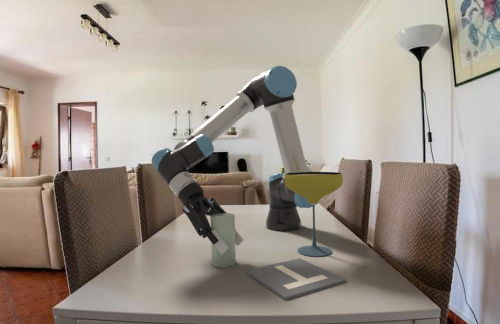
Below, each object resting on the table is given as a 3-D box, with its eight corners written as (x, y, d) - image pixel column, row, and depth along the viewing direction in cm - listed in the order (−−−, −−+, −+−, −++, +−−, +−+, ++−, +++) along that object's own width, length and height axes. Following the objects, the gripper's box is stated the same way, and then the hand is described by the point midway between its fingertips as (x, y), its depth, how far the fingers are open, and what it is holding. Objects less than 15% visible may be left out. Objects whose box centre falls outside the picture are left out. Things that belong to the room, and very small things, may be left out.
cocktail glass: (344, 245, 103) (343, 171, 103) (342, 263, 86) (341, 175, 86) (292, 241, 109) (290, 171, 109) (280, 258, 92) (278, 175, 92)
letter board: (299, 260, 90) (299, 258, 90) (345, 281, 74) (345, 279, 74) (245, 272, 81) (245, 270, 81) (285, 300, 65) (285, 297, 65)
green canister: (229, 257, 94) (228, 212, 93) (239, 264, 88) (238, 216, 87) (208, 261, 90) (206, 214, 90) (217, 269, 84) (215, 219, 84)
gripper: (170, 184, 84) (221, 249, 77) (213, 178, 102) (257, 230, 95) (156, 202, 86) (204, 267, 79) (200, 193, 105) (242, 245, 98)
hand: (233, 246), depth 87 cm, fingers open, 8 cm apart
